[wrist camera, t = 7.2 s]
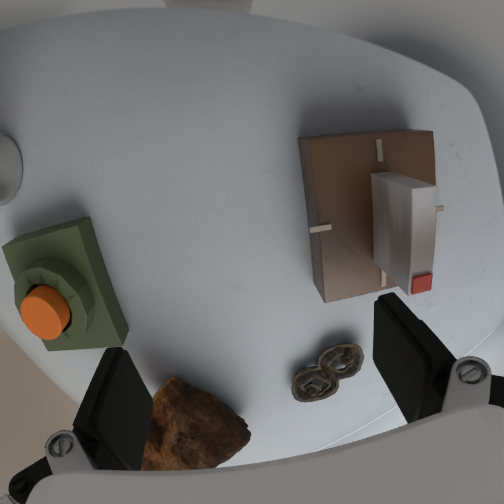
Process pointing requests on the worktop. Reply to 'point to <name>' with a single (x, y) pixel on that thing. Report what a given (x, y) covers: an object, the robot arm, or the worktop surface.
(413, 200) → the tap handle
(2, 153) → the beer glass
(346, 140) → the block
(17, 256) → the button box
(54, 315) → the button
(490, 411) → the robot arm
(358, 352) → the corroded twin loop
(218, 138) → the worktop surface
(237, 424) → the decorative rock
